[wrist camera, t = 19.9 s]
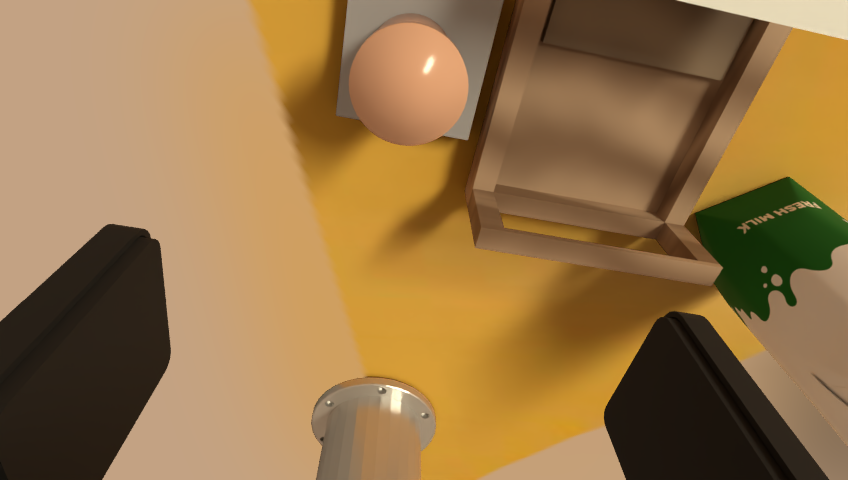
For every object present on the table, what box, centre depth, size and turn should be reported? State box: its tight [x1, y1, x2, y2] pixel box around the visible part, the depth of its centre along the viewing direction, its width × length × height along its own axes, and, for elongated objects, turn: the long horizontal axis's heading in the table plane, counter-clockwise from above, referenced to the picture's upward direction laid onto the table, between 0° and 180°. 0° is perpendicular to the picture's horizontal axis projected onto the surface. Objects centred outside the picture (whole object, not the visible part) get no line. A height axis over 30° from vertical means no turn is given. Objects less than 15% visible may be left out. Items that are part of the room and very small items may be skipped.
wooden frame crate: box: [465, 0, 793, 286], centre depth 29 cm, size 22×16×8 cm
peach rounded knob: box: [349, 13, 469, 146], centre depth 27 cm, size 6×6×7 cm
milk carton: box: [695, 177, 848, 446], centre depth 30 cm, size 9×9×20 cm
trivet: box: [336, 0, 504, 140], centre depth 31 cm, size 9×9×2 cm
